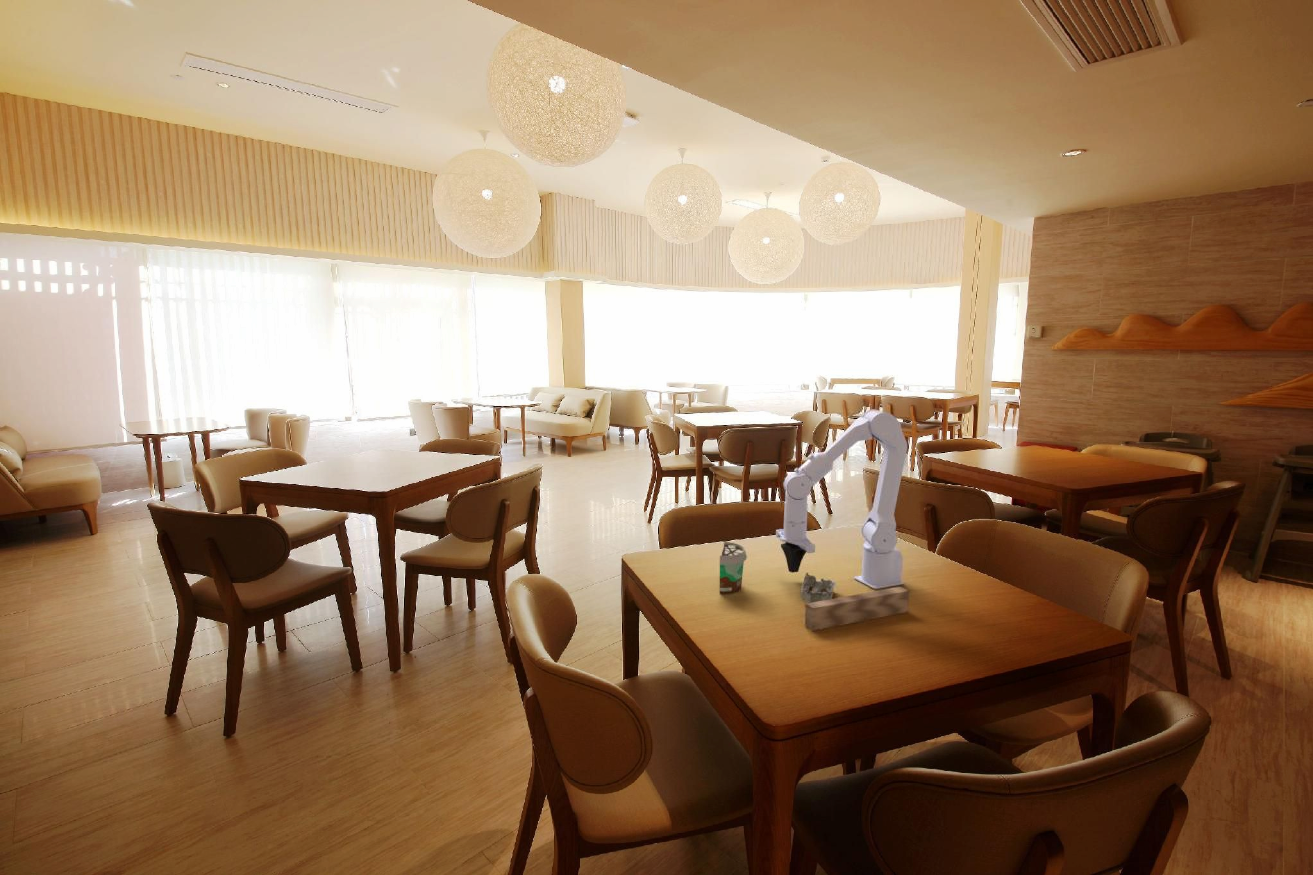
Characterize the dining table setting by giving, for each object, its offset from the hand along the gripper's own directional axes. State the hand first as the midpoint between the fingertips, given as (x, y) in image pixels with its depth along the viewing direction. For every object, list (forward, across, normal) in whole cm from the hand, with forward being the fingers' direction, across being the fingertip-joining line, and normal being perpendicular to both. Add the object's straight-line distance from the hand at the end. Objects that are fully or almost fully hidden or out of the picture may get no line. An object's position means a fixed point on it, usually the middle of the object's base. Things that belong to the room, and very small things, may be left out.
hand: (793, 571), depth 152 cm
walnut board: (+2, +24, 0) cm, 25 cm away
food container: (+3, -1, -17) cm, 17 cm away
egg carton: (+3, +11, 0) cm, 11 cm away
